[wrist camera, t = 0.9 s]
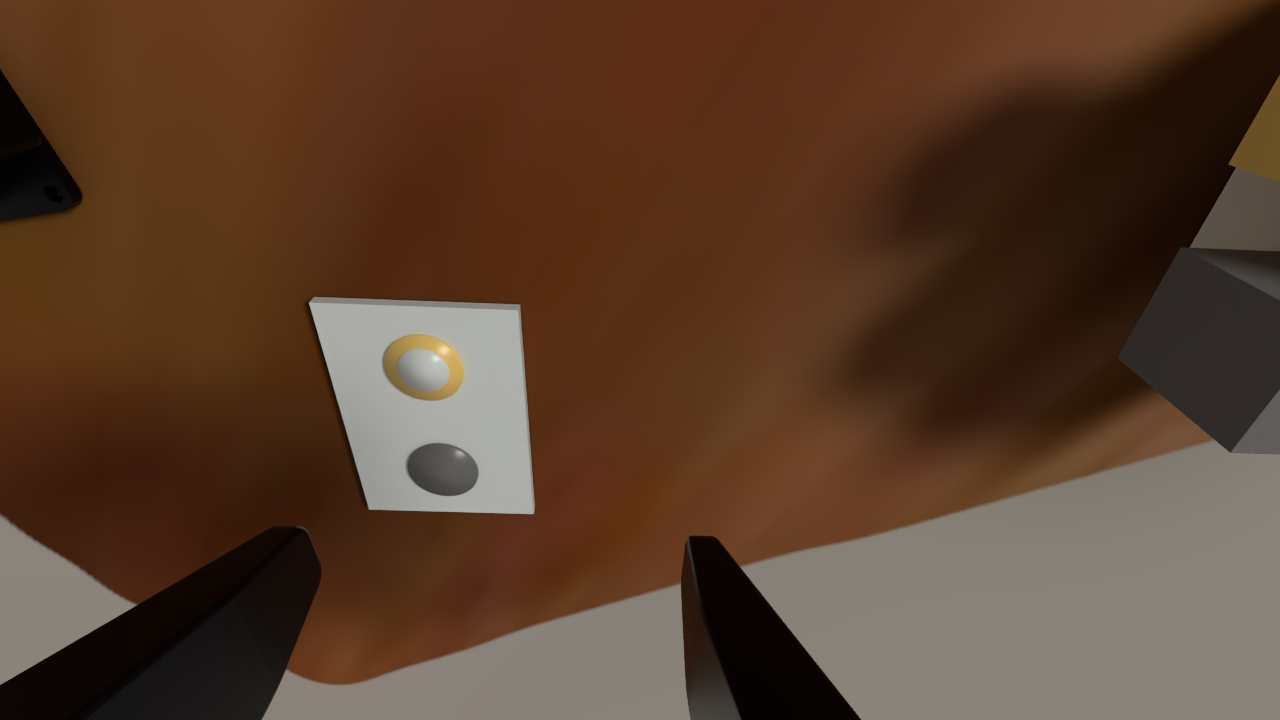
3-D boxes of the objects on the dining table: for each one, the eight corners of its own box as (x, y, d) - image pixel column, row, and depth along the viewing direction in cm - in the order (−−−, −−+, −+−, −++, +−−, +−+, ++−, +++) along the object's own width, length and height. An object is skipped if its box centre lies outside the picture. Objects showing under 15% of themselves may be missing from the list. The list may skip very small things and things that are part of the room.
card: (372, 502, 26) (366, 513, 26) (314, 297, 21) (305, 305, 20) (534, 507, 26) (532, 518, 26) (519, 304, 21) (517, 313, 20)
